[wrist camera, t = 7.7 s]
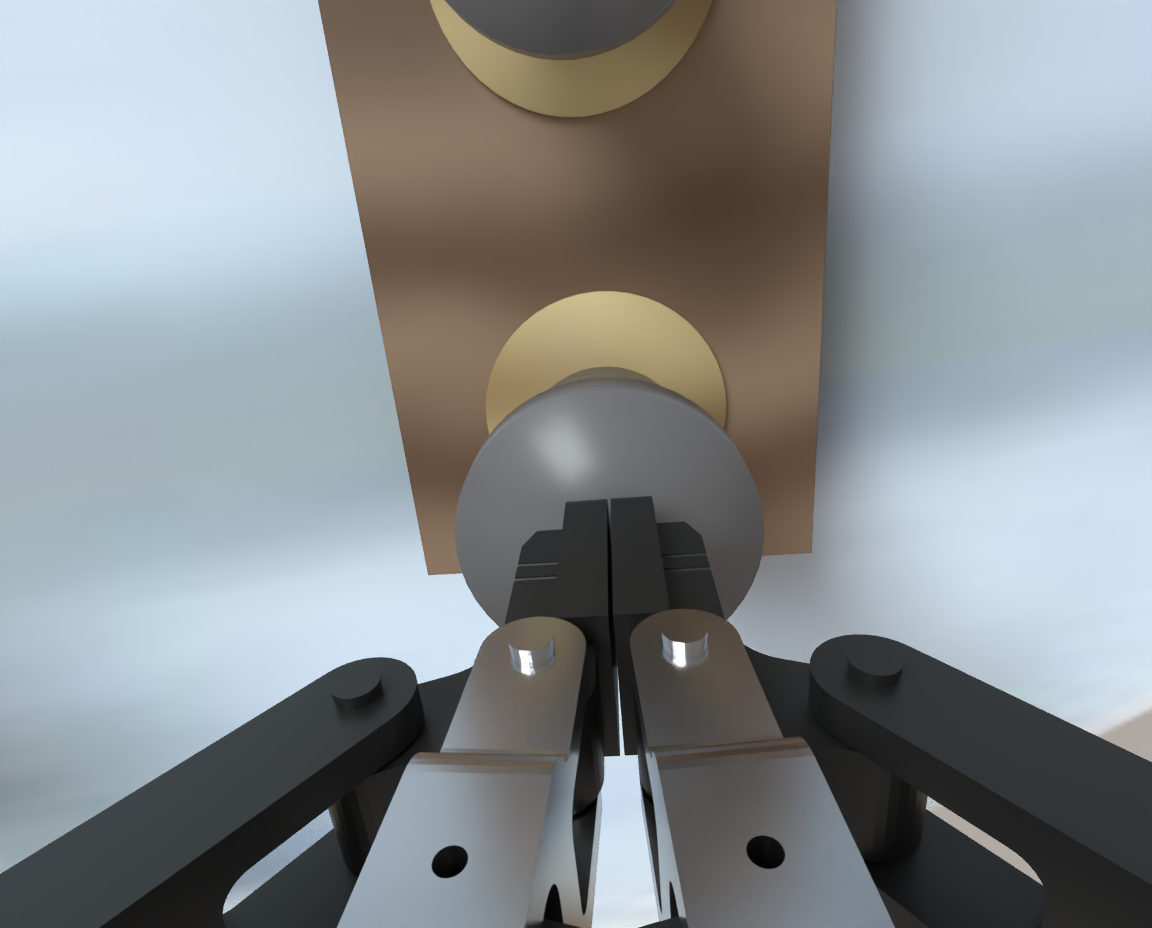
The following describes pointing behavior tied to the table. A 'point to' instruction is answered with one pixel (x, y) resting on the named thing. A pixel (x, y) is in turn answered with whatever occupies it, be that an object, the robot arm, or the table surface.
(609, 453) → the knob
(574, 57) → the middle knob
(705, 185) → the mount board
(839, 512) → the table surface
